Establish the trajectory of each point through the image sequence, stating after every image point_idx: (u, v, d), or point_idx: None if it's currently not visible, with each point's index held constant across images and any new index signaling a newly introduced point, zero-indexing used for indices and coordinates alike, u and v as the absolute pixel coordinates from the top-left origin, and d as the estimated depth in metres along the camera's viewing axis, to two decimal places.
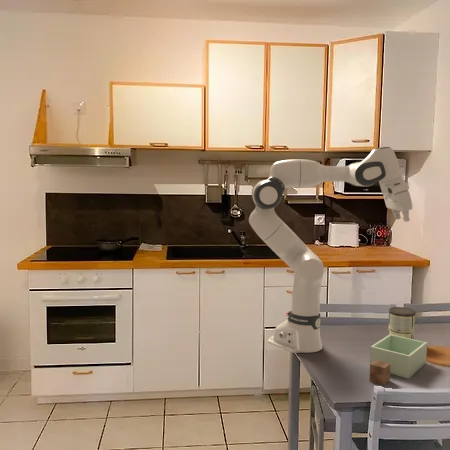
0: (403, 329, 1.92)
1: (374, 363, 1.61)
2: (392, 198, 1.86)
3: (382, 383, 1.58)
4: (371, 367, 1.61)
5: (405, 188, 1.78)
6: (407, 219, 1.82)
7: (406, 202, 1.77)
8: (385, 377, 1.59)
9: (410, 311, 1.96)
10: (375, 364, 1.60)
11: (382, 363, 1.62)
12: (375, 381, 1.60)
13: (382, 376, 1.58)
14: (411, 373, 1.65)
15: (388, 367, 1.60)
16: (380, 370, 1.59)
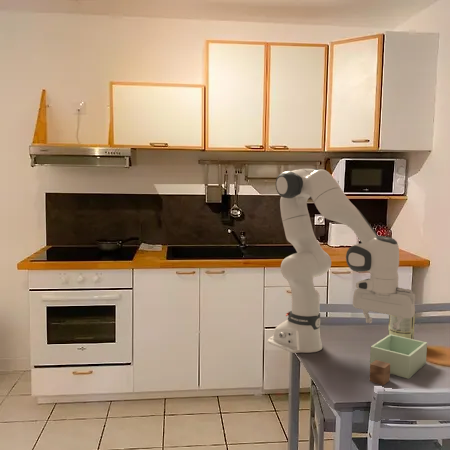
0: (403, 329, 1.92)
1: (374, 363, 1.61)
2: None
3: (382, 383, 1.58)
4: (371, 367, 1.61)
5: None
6: None
7: None
8: (385, 377, 1.59)
9: None
10: (375, 364, 1.60)
11: (382, 363, 1.62)
12: (375, 381, 1.60)
13: (382, 376, 1.58)
14: (411, 373, 1.65)
15: (388, 367, 1.60)
16: (380, 370, 1.59)
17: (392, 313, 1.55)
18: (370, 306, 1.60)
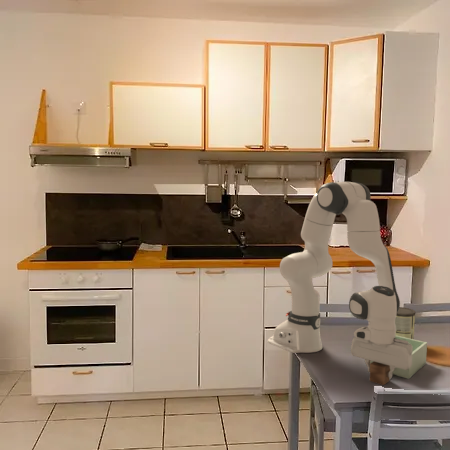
0: (403, 329, 1.92)
1: (374, 363, 1.61)
2: None
3: (382, 383, 1.58)
4: (371, 367, 1.61)
5: None
6: None
7: None
8: (385, 377, 1.59)
9: (410, 311, 1.96)
10: (375, 364, 1.60)
11: None
12: (375, 381, 1.60)
13: (382, 376, 1.58)
14: (411, 373, 1.65)
15: (388, 367, 1.60)
16: (380, 370, 1.59)
17: (389, 363, 1.57)
18: (368, 355, 1.62)
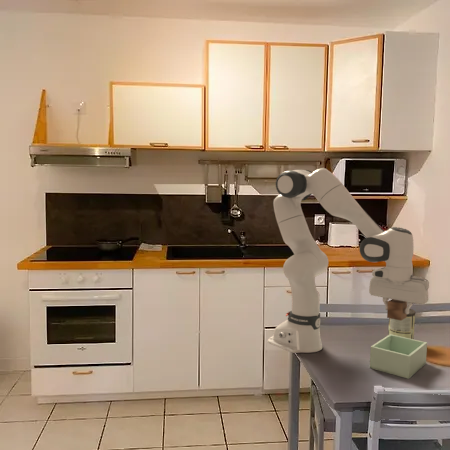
0: (403, 329, 1.92)
1: (392, 300, 1.69)
2: None
3: (399, 318, 1.66)
4: (389, 304, 1.69)
5: None
6: None
7: None
8: (402, 313, 1.67)
9: (410, 311, 1.96)
10: (392, 301, 1.68)
11: (399, 300, 1.70)
12: (393, 317, 1.68)
13: (399, 312, 1.66)
14: (411, 373, 1.65)
15: (405, 304, 1.68)
16: (397, 307, 1.67)
17: (406, 299, 1.65)
18: (386, 293, 1.70)
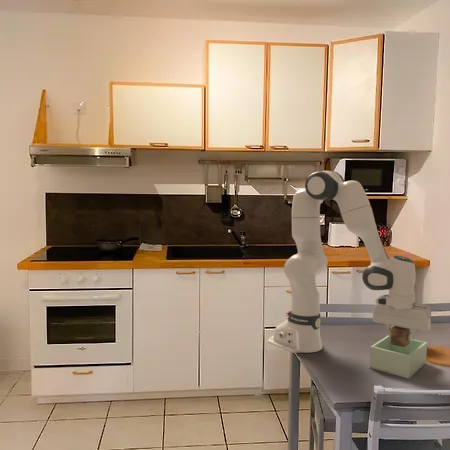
0: None
1: (395, 327, 1.73)
2: None
3: (403, 345, 1.70)
4: (392, 331, 1.72)
5: None
6: None
7: None
8: (406, 340, 1.71)
9: None
10: (395, 328, 1.72)
11: (402, 327, 1.74)
12: (396, 344, 1.72)
13: (403, 338, 1.70)
14: (411, 373, 1.65)
15: (408, 330, 1.72)
16: (400, 333, 1.71)
17: (410, 327, 1.69)
18: (389, 320, 1.74)
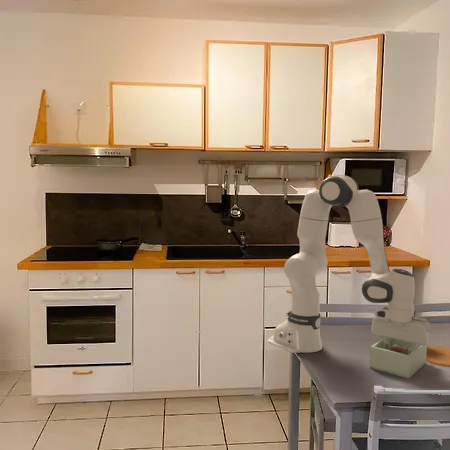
0: None
1: (393, 347, 1.74)
2: None
3: None
4: (390, 350, 1.73)
5: None
6: None
7: None
8: None
9: None
10: (394, 348, 1.73)
11: (400, 347, 1.75)
12: None
13: None
14: (411, 373, 1.65)
15: (406, 350, 1.73)
16: None
17: (408, 340, 1.70)
18: (388, 332, 1.74)
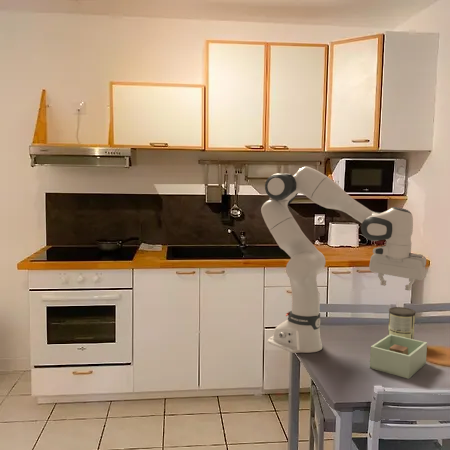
0: (403, 329, 1.92)
1: (393, 347, 1.74)
2: None
3: None
4: (390, 350, 1.73)
5: None
6: None
7: None
8: None
9: (410, 311, 1.96)
10: (394, 348, 1.73)
11: (400, 347, 1.75)
12: None
13: None
14: (411, 373, 1.65)
15: (406, 350, 1.73)
16: None
17: (405, 276, 1.74)
18: (385, 269, 1.79)
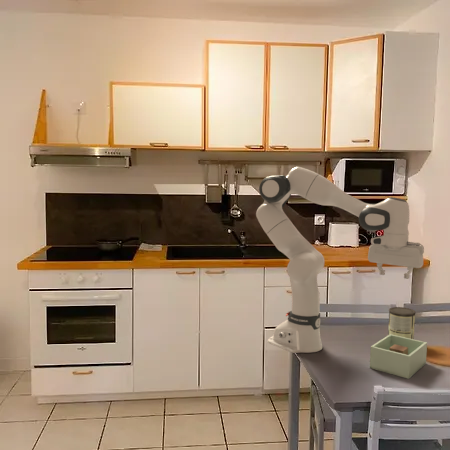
0: (403, 329, 1.92)
1: (393, 347, 1.74)
2: None
3: None
4: (390, 350, 1.73)
5: None
6: None
7: None
8: None
9: (410, 311, 1.96)
10: (394, 348, 1.73)
11: (400, 347, 1.75)
12: None
13: None
14: (411, 373, 1.65)
15: (406, 350, 1.73)
16: None
17: (403, 264, 1.77)
18: (384, 259, 1.81)
